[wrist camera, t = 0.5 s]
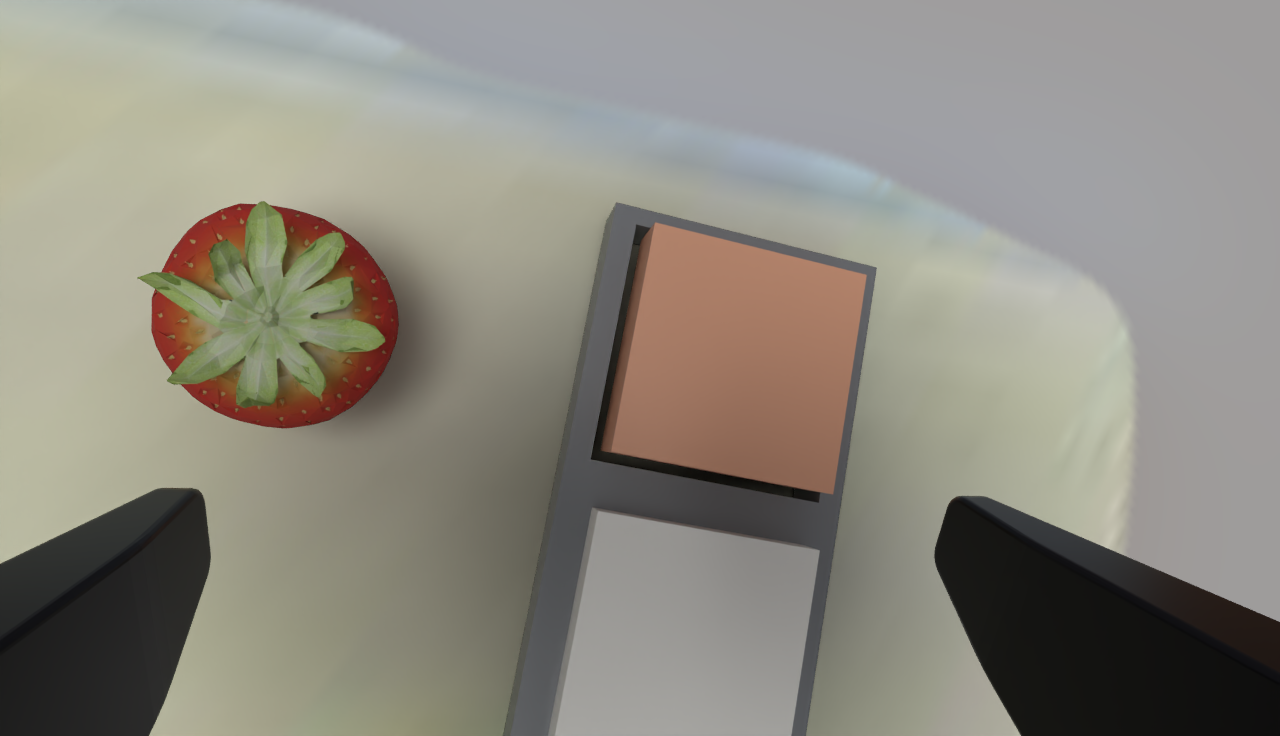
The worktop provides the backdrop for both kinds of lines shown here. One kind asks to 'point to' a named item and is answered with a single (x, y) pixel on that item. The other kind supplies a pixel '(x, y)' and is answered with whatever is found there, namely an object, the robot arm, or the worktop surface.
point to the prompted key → (735, 360)
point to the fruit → (273, 316)
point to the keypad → (672, 567)
